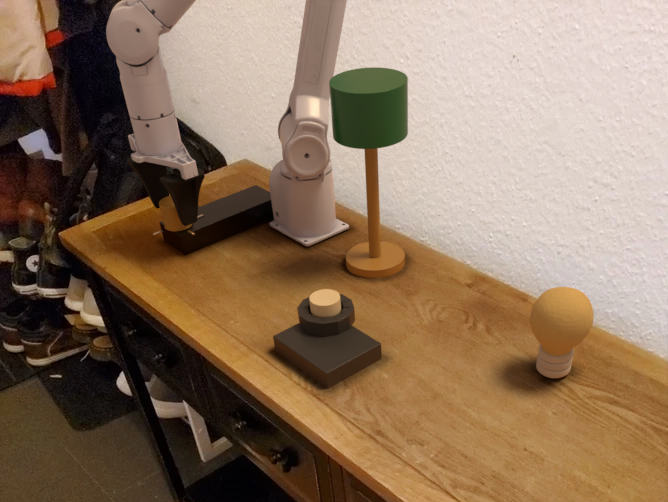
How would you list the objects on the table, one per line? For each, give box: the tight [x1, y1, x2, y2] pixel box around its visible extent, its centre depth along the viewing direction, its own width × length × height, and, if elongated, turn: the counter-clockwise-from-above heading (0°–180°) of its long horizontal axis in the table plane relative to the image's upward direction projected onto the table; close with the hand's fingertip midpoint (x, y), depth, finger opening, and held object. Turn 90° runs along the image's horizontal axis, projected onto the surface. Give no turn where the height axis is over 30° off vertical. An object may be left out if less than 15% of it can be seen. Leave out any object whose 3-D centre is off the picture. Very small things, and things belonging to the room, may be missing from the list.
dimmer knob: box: [159, 195, 192, 231], centre depth 104 cm, size 4×4×4 cm
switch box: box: [272, 293, 383, 390], centre depth 86 cm, size 11×10×4 cm
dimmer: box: [152, 184, 274, 257], centre depth 109 cm, size 20×8×3 cm, turn 131°
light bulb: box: [529, 286, 594, 379], centre depth 79 cm, size 6×6×10 cm
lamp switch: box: [308, 288, 341, 318], centre depth 86 cm, size 4×4×2 cm
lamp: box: [329, 66, 409, 279], centre depth 93 cm, size 9×9×23 cm
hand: (175, 214), depth 104 cm, fingers open, 7 cm apart
